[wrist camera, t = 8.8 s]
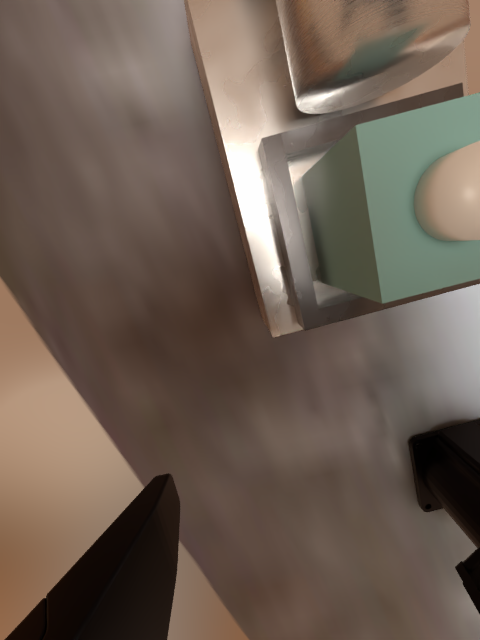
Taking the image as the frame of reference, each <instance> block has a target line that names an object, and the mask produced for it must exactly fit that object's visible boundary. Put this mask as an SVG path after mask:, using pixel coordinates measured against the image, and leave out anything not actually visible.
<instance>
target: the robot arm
mask: <svg viewBox="0 0 480 640" xmlns="http://www.w3.org/2000/svg"><path fill="white" fill-rule="evenodd" d="M417 443H419V444H418V445H416V444H417ZM409 446H410V452H411V458H412V465H413V471H414V477H415V483H416V490H417V496H418V502H419V506H420V507H421V509H422V510H423V511H424V512H431V511H434V510H438V509H442V508H444V509H445V510H446V511H447V513H448V514H449V515H450V516H451V517H452V518H453V520H454V521H455V522H456V523H457V524H458V526H459V527H460V528H461V529H462V530H463V531H464V533H465V534H466V535H467V536H468V537H469V539H470V540H471V541H472V542H473V543H474V544H475V546H476V547H477V549H476V550H475V551H474V552H473V553H472V554H471V555H470V556H469V557H468V558H467V559H466V560H465V561H464V562H462V561H461V562H460V563H459V564H458V565H457V566H456V567H455V568H456V570H457V572H458V574H459V576H460V577H461V579H462V581H463V585H464V587H465V589H466V591H467V592H468V594H469V596H470V598H471V600H472V601H473V603H474V605H475V607H476V609H477V610H478V612H479V614H480V420H476V421H473V422H469V423H465V424H461V425H457V426H454V427H450V428H446V429H442V430H438V431H435V432H431V433H427V434H423V435H419V436H416V437H413V438H412V439H411V440H410V442H409ZM179 523H180V500H179V496H178V493H177V490H176V486H175V483H174V480H173V477H172V475H171V474H164V475H159V476H156V477H154V478H153V479H152V481H151V482H150V483H149V484H148V485H147V486H146V487H145V488H144V489H143V490H142V491H141V493H140V494H139V495H138V496H137V497H136V498H135V499H134V500H133V501H132V502H131V503H130V504H129V506H128V507H127V508H126V509H125V510H124V511H123V512H122V513H121V514H120V515H119V517H118V518H117V519H116V520H115V521H114V522H113V523H112V524H111V525H110V526H109V527H108V529H107V530H106V531H105V532H104V533H103V534H102V535H101V536H100V537H99V538H98V540H96V542H95V543H94V544H93V545H92V546H91V547H90V548H89V549H88V550H87V551H86V552H85V554H84V555H83V556H82V557H81V558H80V559H79V560H78V561H77V562H76V563H75V565H73V567H72V568H71V569H70V570H69V571H68V572H67V573H66V574H65V575H64V576H63V577H62V579H61V580H60V581H59V582H58V583H57V584H56V585H55V586H54V587H53V588H52V589H51V591H50V592H49V593H48V594H47V596H46V598H43V599H42V600H41V601H40V602H39V604H38V605H37V606H36V607H35V608H34V609H33V610H32V611H31V612H30V613H29V614H28V615H27V617H26V618H25V619H24V620H23V621H22V622H21V623H20V624H19V625H18V626H17V627H16V628H15V629H14V630H13V631H12V632H11V634H9V636H8V637H7V638H6V639H5V640H167V636H168V630H169V622H170V616H171V609H172V603H173V596H174V589H175V582H176V574H177V563H178V543H179Z"/></svg>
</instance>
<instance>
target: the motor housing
mask: <svg viewBox="0 0 480 640" xmlns="http://www.w3.org/2000/svg"><path fill="white" fill-rule="evenodd" d="M184 4H185V10H186V16H187V22H188V28H189V34H190V40H191V45H192V49H193V53H194V56H195V60H196V64H197V68H198V72H199V76H200V80H201V84H202V88H203V92H204V95H205V99H206V103H207V107H208V111H209V115H210V119H211V123H212V127H213V130H214V134H215V138H216V142H217V146H218V150H219V154H220V158H221V162H222V166H223V169H224V173H225V177H226V181H227V185H228V189H229V193H230V197H231V201H232V204H233V208H234V212H235V216H236V220H237V224H238V228H239V232H240V236H241V240H242V243H243V247H244V251H245V255H246V259H247V263H248V267H249V271H250V275H251V278H252V282H253V286H254V290H255V294H256V298H257V302H258V306H259V310H260V314H261V317H262V319H263V321H264V323H265V325H266V326H267V328H268V330H269V332H270V334H271V336H272V337H277V336H281V335H284V334H288V333H292V332H295V331H299V330H303V329H304V330H309V329H313V328H316V327H320V326H324V325H328V324H331V323H335V322H339V321H342V320H346V319H350V318H354V317H357V316H361V315H365V314H368V313H372V312H376V311H380V310H383V309H387V308H391V307H394V306H398V305H402V304H406V303H409V302H413V301H417V300H420V299H424V298H428V297H432V296H435V295H439V294H443V293H446V292H450V291H454V290H457V289H461V288H465V287H469V286H472V285H476V284H480V279H476V280H472V281H468V282H464V283H461V284H457V285H453V286H449V287H445V288H441V289H437V290H433V291H429V292H426V293H422V294H418V295H414V296H410V297H406V298H402V299H398V300H395V301H391V302H387V303H383V304H382V303H379V302H376V301H373V300H370V299H368V298H365V297H362V296H359V295H356V294H353V293H350V292H347V291H344V290H341V289H338V288H335V287H332V286H329V285H327V284H324V283H322V279H321V273H320V268H319V263H318V258H317V253H316V247H315V242H314V237H313V232H312V227H311V221H310V216H309V211H308V206H307V201H306V195H305V190H304V185H303V180H302V176H303V175H304V174H305V173H306V172H307V171H308V170H309V169H310V168H311V167H312V166H313V165H314V164H315V163H317V162H318V161H319V160H320V159H321V158H322V157H323V156H324V155H325V154H326V153H327V152H328V151H329V150H330V149H331V148H332V147H333V146H334V145H335V144H336V143H337V142H339V141H340V140H341V139H342V138H343V137H344V136H345V135H346V134H347V133H348V132H349V131H350V130H351V129H352V128H353V127H354V126H355V125H358V124H362V123H366V122H370V121H373V120H377V119H381V118H385V117H389V116H392V115H396V114H400V113H404V112H408V111H411V110H415V109H419V108H423V107H427V106H430V105H434V104H438V103H442V102H446V101H449V100H453V99H457V98H461V97H465V96H468V95H469V94H468V84H467V71H466V60H465V48H464V38H465V37H466V35H467V33H468V31H469V29H470V13H469V1H468V0H184Z"/></svg>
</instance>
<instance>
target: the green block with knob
mask: <svg viewBox="0 0 480 640" xmlns="http://www.w3.org/2000/svg"><path fill="white" fill-rule="evenodd" d="M302 180H303V185H304V190H305V195H306V201H307V206H308V211H309V216H310V221H311V227H312V232H313V237H314V242H315V247H316V253H317V258H318V263H319V268H320V273H321V279H322V283H324V284H327V285H329V286H332V287H335V288H338V289H341V290H344V291H347V292H350V293H353V294H356V295H359V296H362V297H365V298H368V299H370V300H373V301H376V302H379V303H382V304H383V303H387V302H391V301H395V300H398V299H402V298H406V297H410V296H414V295H418V294H422V293H426V292H429V291H433V290H437V289H441V288H445V287H449V286H453V285H457V284H461V283H464V282H468V281H472V280H476V279H480V93H476V94H472V95H468V96H465V97H461V98H457V99H453V100H449V101H446V102H442V103H438V104H434V105H430V106H427V107H423V108H419V109H415V110H411V111H408V112H404V113H400V114H396V115H392V116H389V117H385V118H381V119H377V120H373V121H370V122H366V123H362V124H358V125H355V126H354V127H353V128H352V129H351V130H350V131H349V132H348V133H347V134H346V135H345V136H344V137H343V138H342V139H341V140H340V141H339V142H337V143H336V144H335V145H334V146H333V147H332V148H331V149H330V150H329V151H328V152H327V153H326V154H325V155H324V156H323V157H322V158H321V159H320V160H319V161H318V162H317V163H315V164H314V165H313V166H312V167H311V168H310V169H309V170H308V171H307V172H306V173H305V174H304V175H303V176H302Z"/></svg>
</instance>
